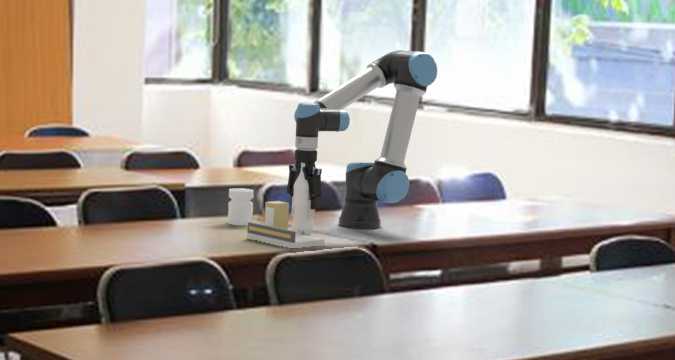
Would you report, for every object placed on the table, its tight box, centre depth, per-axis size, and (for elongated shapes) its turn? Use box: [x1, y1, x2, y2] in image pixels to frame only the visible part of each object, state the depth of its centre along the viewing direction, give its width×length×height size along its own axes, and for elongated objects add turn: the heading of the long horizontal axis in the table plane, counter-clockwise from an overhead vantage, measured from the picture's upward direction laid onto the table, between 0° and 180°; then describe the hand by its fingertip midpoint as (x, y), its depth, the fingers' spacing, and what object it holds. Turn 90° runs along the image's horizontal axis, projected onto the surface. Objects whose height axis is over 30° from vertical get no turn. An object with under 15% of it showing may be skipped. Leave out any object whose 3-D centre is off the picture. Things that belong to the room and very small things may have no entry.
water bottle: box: [291, 162, 314, 236], centre depth 432 cm, size 7×7×25 cm
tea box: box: [263, 200, 290, 230], centre depth 426 cm, size 6×5×10 cm
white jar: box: [227, 187, 255, 227], centre depth 454 cm, size 9×9×12 cm
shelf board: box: [246, 221, 325, 249], centre depth 420 cm, size 14×22×6 cm, turn 45°
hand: (302, 217), depth 433 cm, fingers closed on water bottle, 7 cm apart
